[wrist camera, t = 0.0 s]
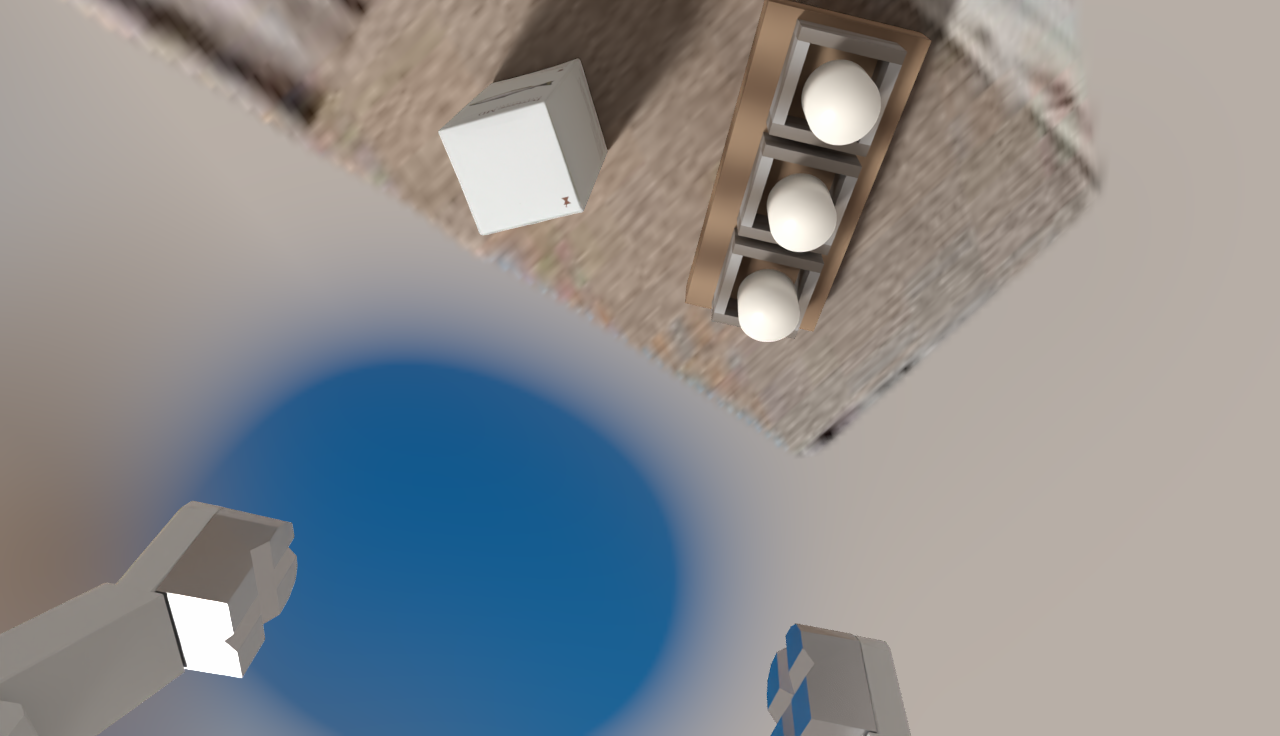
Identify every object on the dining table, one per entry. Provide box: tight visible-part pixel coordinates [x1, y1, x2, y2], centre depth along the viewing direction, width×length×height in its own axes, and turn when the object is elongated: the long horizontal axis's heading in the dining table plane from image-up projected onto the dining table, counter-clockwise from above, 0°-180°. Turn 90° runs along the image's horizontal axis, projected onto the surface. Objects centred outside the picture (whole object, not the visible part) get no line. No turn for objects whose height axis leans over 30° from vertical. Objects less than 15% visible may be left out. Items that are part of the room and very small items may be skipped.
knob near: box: [801, 60, 881, 145], centre depth 45 cm, size 4×4×3 cm
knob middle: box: [767, 173, 837, 252], centre depth 49 cm, size 4×4×3 cm
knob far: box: [737, 269, 800, 342], centre depth 54 cm, size 4×4×3 cm
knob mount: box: [685, 0, 931, 339], centre depth 53 cm, size 23×11×6 cm, turn 168°
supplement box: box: [438, 58, 608, 235], centre depth 50 cm, size 7×7×13 cm
